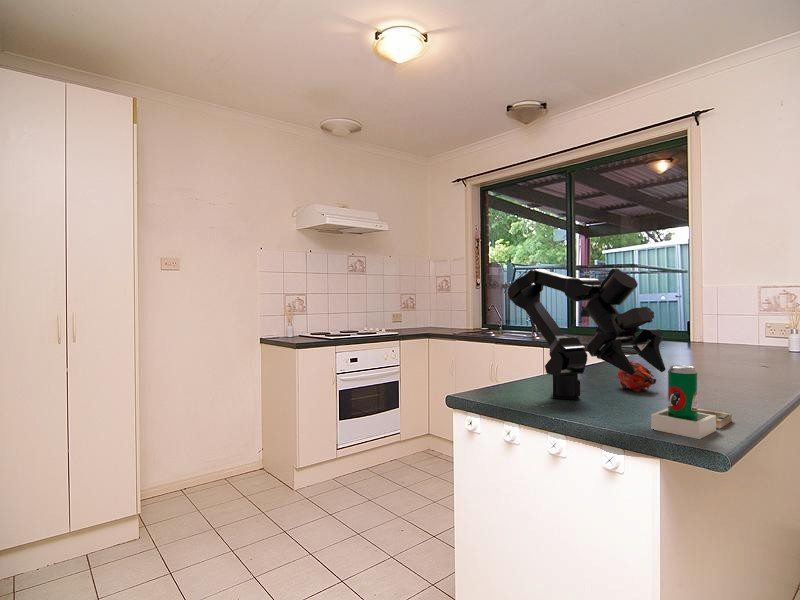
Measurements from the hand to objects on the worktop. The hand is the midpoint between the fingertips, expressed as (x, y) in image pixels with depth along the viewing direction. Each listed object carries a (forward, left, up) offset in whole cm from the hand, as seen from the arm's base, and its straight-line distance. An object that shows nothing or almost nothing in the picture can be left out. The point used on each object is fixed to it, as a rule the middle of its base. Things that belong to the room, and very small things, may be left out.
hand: (648, 372), depth 99 cm
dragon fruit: (+4, +34, -11) cm, 36 cm away
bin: (+5, -6, -10) cm, 13 cm away
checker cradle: (+11, +2, -10) cm, 15 cm away
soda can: (+5, -6, -10) cm, 12 cm away
